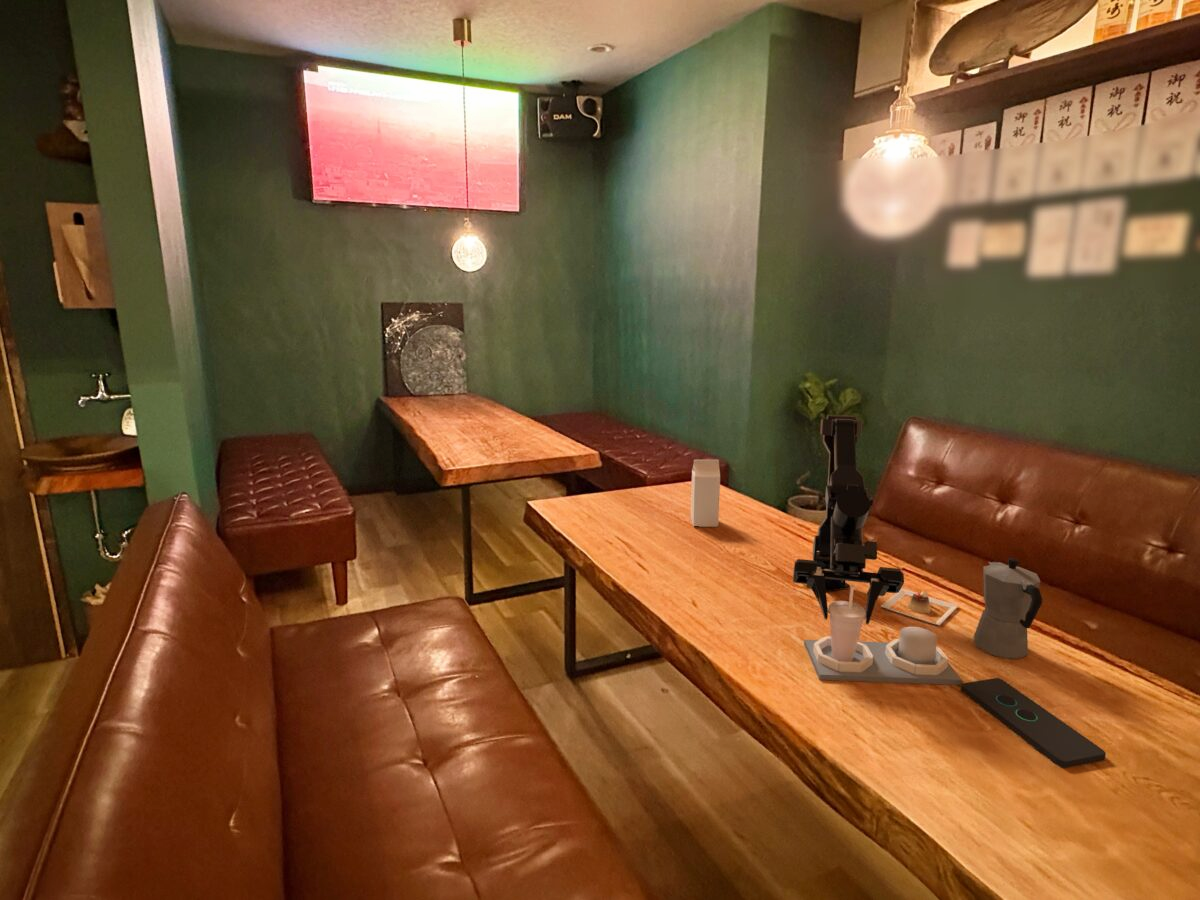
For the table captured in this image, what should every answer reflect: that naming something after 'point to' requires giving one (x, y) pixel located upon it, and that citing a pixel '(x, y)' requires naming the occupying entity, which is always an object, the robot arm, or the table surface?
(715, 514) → the milk carton
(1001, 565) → the coffeepot
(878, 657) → the board
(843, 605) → the smoothie
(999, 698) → the smart home device
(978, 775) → the table surface
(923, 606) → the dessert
